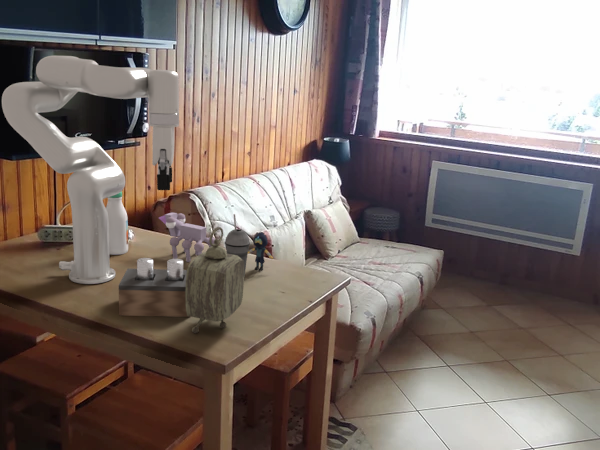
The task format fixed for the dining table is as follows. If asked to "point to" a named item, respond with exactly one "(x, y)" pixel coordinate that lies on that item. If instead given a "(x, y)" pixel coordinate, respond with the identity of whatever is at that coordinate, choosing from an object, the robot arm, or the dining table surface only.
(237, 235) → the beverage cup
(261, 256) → the character figure
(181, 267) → the right peg
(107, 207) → the milk bottle
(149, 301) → the peg block
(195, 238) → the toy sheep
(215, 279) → the tabletop clock
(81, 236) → the robot arm
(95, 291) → the dining table surface
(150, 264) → the left peg
